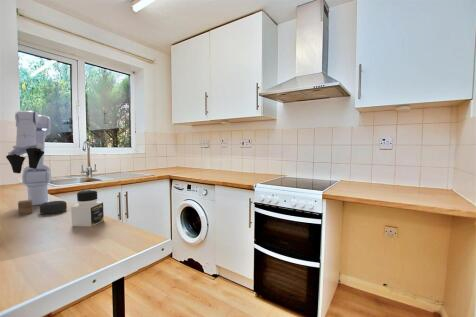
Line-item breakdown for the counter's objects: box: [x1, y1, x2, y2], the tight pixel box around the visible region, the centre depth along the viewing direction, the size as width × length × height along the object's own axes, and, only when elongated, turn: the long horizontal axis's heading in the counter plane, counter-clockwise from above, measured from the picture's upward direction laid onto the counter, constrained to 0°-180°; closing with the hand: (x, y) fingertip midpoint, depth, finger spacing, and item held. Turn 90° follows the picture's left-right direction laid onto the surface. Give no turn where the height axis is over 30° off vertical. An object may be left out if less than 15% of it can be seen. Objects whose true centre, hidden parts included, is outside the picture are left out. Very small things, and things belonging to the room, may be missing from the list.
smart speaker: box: [39, 200, 68, 215], centre depth 98 cm, size 9×9×4 cm
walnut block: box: [17, 199, 34, 216], centre depth 96 cm, size 4×4×5 cm
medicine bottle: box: [70, 189, 105, 228], centre depth 83 cm, size 7×7×12 cm
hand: (24, 170), depth 90 cm, fingers open, 7 cm apart
